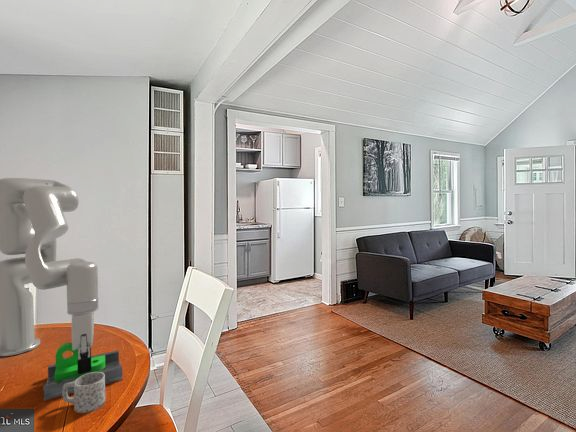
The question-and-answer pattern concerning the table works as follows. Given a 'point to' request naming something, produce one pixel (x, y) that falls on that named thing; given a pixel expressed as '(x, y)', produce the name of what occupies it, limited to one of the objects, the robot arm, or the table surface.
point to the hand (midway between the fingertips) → (84, 366)
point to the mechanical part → (73, 363)
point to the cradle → (55, 388)
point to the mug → (86, 392)
